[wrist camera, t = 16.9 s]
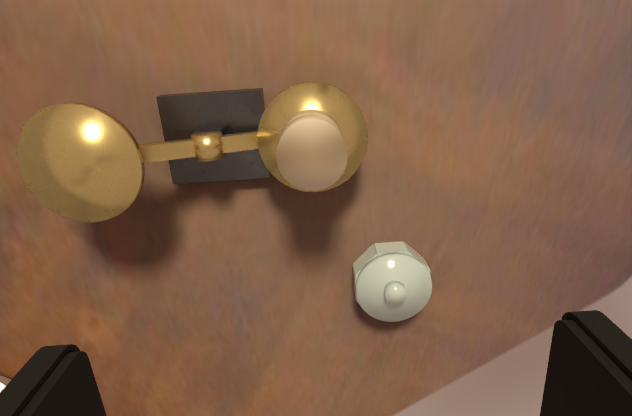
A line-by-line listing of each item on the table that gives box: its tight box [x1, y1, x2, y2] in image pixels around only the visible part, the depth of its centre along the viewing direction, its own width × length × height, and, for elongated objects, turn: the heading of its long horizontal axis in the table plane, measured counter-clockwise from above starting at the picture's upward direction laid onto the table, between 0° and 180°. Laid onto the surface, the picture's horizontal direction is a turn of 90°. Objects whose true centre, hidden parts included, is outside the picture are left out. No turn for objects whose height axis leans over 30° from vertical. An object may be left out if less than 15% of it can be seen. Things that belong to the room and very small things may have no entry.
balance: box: [16, 82, 368, 222], centre depth 32 cm, size 8×23×7 cm, turn 94°
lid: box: [353, 241, 432, 322], centre depth 38 cm, size 7×7×4 cm
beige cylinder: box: [276, 109, 348, 191], centre depth 29 cm, size 4×4×5 cm
